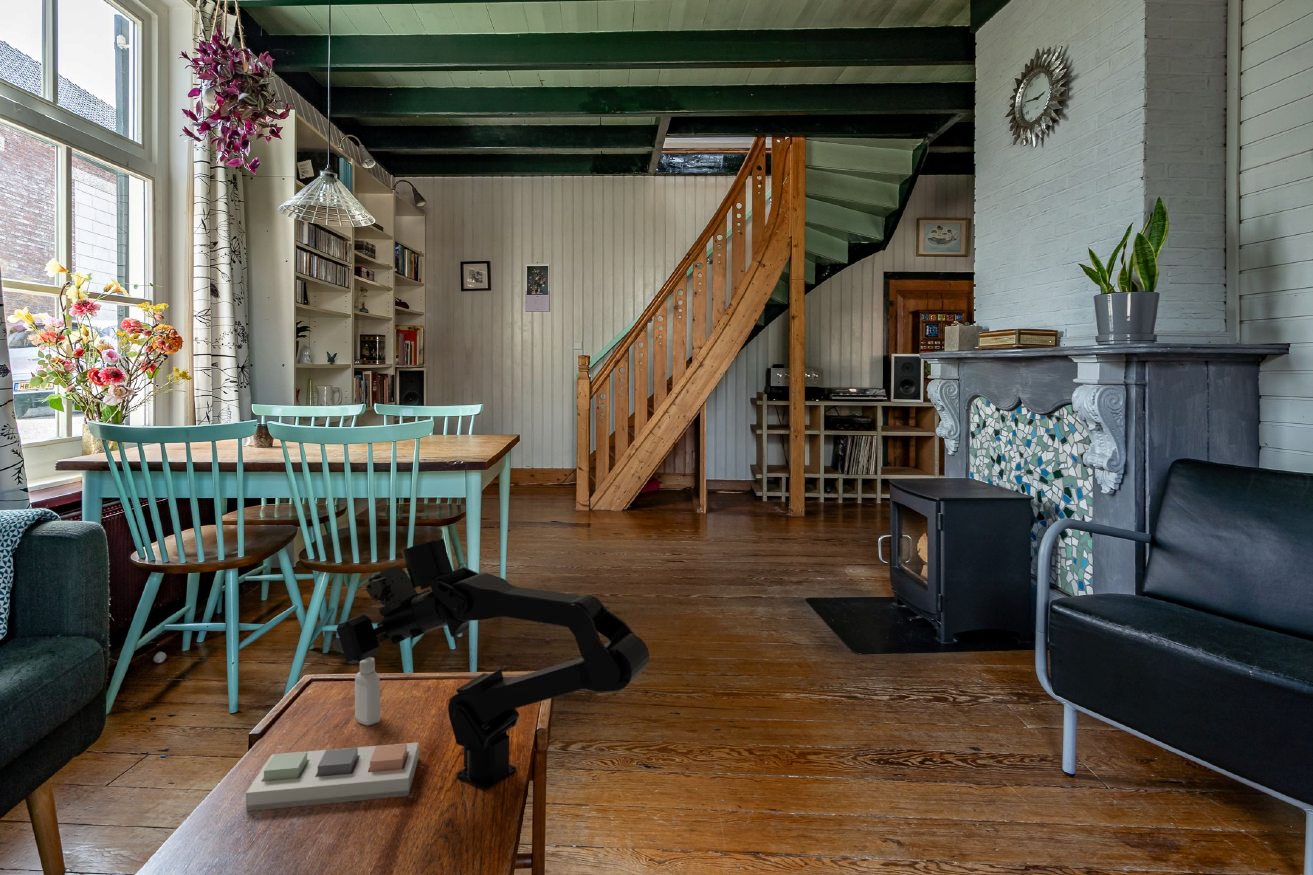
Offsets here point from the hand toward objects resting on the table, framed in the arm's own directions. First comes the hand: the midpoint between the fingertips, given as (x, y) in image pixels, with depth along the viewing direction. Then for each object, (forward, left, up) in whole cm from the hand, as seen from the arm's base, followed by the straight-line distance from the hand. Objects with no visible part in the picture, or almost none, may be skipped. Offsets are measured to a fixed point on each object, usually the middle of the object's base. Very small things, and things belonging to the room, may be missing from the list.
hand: (357, 636), depth 111 cm
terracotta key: (-14, +4, -15) cm, 21 cm away
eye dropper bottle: (+5, -5, -18) cm, 19 cm away
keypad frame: (-9, +9, -17) cm, 22 cm away
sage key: (-4, +14, -15) cm, 21 cm away
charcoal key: (-9, +9, -15) cm, 20 cm away
